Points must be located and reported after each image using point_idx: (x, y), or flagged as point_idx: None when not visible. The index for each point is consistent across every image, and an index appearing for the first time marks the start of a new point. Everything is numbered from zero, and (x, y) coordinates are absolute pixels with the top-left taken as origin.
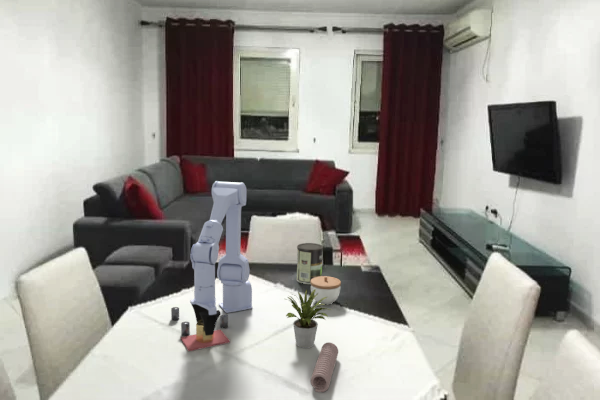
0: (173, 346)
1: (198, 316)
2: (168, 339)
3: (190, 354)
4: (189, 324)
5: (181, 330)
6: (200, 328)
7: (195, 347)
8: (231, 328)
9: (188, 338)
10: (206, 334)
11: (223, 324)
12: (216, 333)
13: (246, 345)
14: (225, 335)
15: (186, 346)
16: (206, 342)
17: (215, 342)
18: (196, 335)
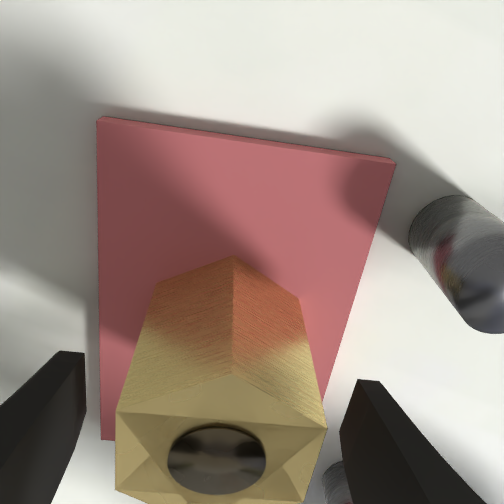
0: (294, 19)
1: (391, 472)
2: (481, 40)
3: (31, 105)
4: (467, 319)
5: (484, 215)
6: (162, 369)
7: (105, 195)
8: None
9: (321, 214)
10: (50, 362)
11: (336, 497)
12: None
13: None
14: None
15: (179, 131)
16: None
17: (119, 360)
18: (231, 284)
